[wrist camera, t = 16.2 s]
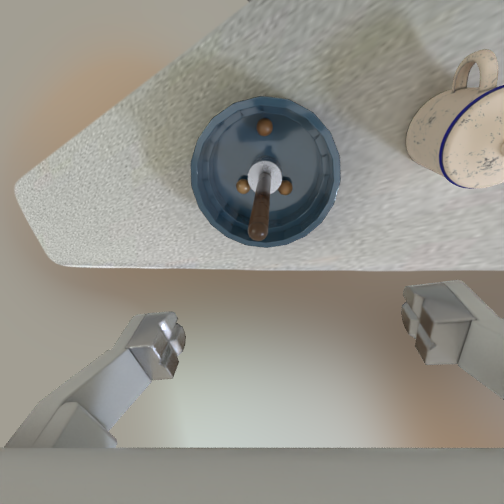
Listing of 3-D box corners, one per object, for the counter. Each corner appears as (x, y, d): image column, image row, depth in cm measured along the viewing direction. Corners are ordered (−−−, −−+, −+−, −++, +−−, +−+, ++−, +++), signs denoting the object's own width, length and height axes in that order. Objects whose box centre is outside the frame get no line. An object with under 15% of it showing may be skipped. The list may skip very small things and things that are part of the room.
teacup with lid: (481, 155, 32) (574, 182, 22) (403, 177, 34) (456, 210, 24) (494, 39, 26) (627, 6, 16) (400, 75, 28) (466, 64, 18)
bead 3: (295, 190, 35) (287, 179, 35) (295, 186, 33) (286, 175, 33) (284, 199, 35) (275, 188, 36) (283, 196, 33) (274, 184, 34)
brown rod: (246, 159, 34) (221, 213, 18) (278, 152, 33) (281, 203, 18) (253, 190, 36) (236, 262, 21) (283, 185, 35) (290, 255, 20)
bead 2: (260, 119, 32) (253, 117, 30) (275, 118, 31) (268, 116, 29) (260, 137, 32) (253, 136, 31) (275, 136, 31) (268, 135, 30)
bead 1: (234, 179, 34) (248, 174, 34) (233, 184, 36) (246, 180, 36) (239, 193, 34) (253, 188, 34) (238, 197, 36) (251, 193, 36)
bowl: (185, 115, 32) (168, 119, 27) (326, 79, 29) (336, 76, 24) (222, 235, 41) (215, 255, 36) (333, 217, 38) (342, 236, 33)
